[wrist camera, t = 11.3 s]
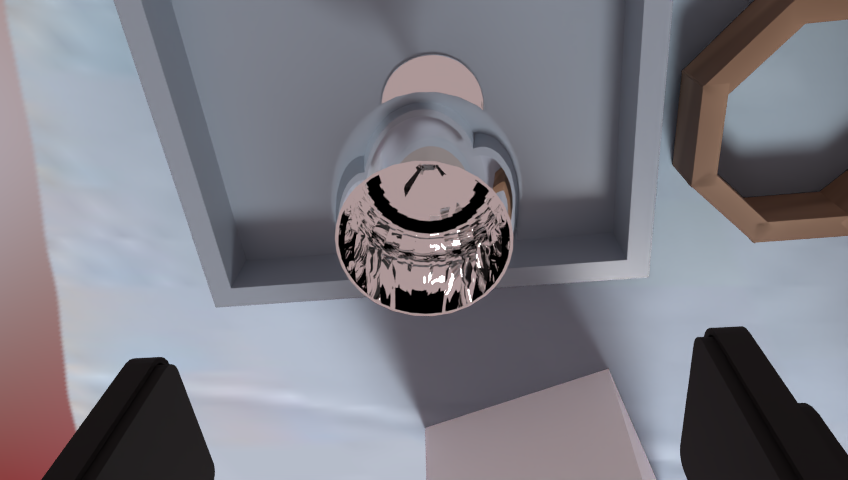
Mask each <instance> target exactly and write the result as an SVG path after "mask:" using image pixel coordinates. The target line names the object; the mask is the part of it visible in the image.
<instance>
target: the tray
mask: <svg viewBox="0 0 848 480" xmlns="http://www.w3.org/2000/svg"><path fill="white" fill-rule="evenodd" d="M114 3H115V6H116V9H117V12H118V15H119V18H120V21H121V24H122V27H123V30H124V33H125V36H126V39H127V42H128V45H129V48H130V51H131V54H132V57H133V60H134V63H135V66H136V69H137V72H138V75H139V78H140V81H141V84H142V87H143V90H144V93H145V96H146V99H147V102H148V105H149V108H150V111H151V114H152V117H153V120H154V123H155V126H156V129H157V132H158V135H159V138H160V141H161V144H162V147H163V150H164V153H165V156H166V159H167V162H168V165H169V168H170V171H171V174H172V177H173V180H174V183H175V186H176V189H177V192H178V195H179V198H180V201H181V204H182V207H183V210H184V213H185V216H186V219H187V222H188V225H189V228H190V231H191V234H192V237H193V240H194V243H195V246H196V250H197V253H198V256H199V259H200V262H201V265H202V268H203V271H204V274H205V277H206V280H207V283H208V286H209V289H210V292H211V295H212V298H213V301H214V304H215V307H230V306H245V305H259V304H274V303H288V302H302V301H317V300H331V299H345V298H360V297H366V296H365V295H364V294H362V293H361V292H360V291H359V290H358V289H357V288H356V287H355V285H354V284H353V283H352V282H351V281H350V280H349V278H348V277H347V275H346V273H345V272H344V270H343V268H342V267H341V264H340V261H339V258H338V255H337V252H336V248H335V243H334V238H333V232H332V223H331V213H330V195H331V184H332V178H333V171H334V168H335V164H336V161H337V158H338V155H339V153H340V150H341V148H342V146H343V144H344V142H345V140H346V139H347V137H348V135H349V134H350V133H351V131H352V130H353V129H354V128H355V126H356V125H357V124H358V123H359V122H360V121H361V120H362V119H363V118H364V117H365V116H366V115H367V114H369V113H370V112H371V111H372V110H373V109H374V108H376V107H377V106H379V105H380V104H381V98H382V92H383V89H384V87H385V84H386V81H387V80H388V78H389V77H390V75H391V74H392V73H393V71H394V70H395V69H396V68H397V67H398V66H399V65H401V64H402V63H403V62H405V61H407V60H408V59H410V58H413V57H416V56H419V55H424V54H441V55H446V56H449V57H452V58H454V59H457V60H459V61H460V62H461V63H463V64H464V65H466V66H467V67H468V68H469V69H470V70H471V71H472V72H473V73H474V75H475V76H476V78H477V79H478V81H479V83H480V85H481V88H482V92H483V95H484V111H485V112H486V113H487V114H489V115H490V116H491V117H492V118H493V119H494V120H495V121H496V123H497V124H498V125H499V126H500V127H501V128H502V129H503V131H504V133H505V134H506V136H507V137H508V139H509V141H510V142H511V144H512V146H513V148H514V151H515V153H516V156H517V158H518V162H519V166H520V171H521V176H522V185H523V207H522V218H521V224H520V228H519V232H518V236H517V240H516V244H515V247H514V250H513V253H512V257H511V260H510V263H509V265H508V267H507V270H506V272H505V274H504V275H503V277H502V278H501V280H500V281H499V283H498V284H497V285H496V286H495V287H494V288H503V287H517V286H532V285H546V284H560V283H575V282H589V281H603V280H618V279H632V278H647V277H649V268H650V256H651V245H652V234H653V222H654V211H655V200H656V188H657V177H658V166H659V155H660V143H661V132H662V121H663V109H664V98H665V87H666V75H667V64H668V53H669V42H670V30H671V19H672V8H673V0H114Z"/></svg>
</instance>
